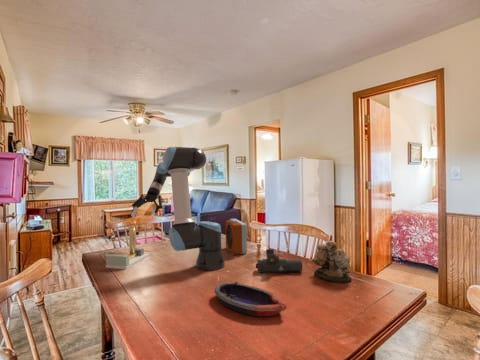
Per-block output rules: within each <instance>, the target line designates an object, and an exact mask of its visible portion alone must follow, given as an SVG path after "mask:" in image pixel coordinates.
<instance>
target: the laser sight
mask: <svg viewBox="0 0 480 360" xmlns="http://www.w3.org/2000/svg"><path fill="white" fill-rule="evenodd" d="M265 252H266V258H262V259H257V262H256V263H255V269H257V273H263V274H268V273H269V274H270V273H271V274H273V273H274V274H277V273H278V274H279V273H280V274H281V273H283V274H285V273H288V272H303V261H302V260H301V259H286V258H280V256H279V255H276V254H275V253H274V252H275V250H274V249H272V248H271V249H267V248H266V250H265Z"/></svg>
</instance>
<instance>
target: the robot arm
mask: <svg viewBox="0 0 480 360" xmlns="http://www.w3.org/2000/svg"><path fill="white" fill-rule="evenodd" d="M206 163H207V156H206V154H205V152H204V151H203V150H201V149H200V148H197V147H185V146H184V147H183V146H169V147H167V148H166V150H165V152H164V155H163V161H162V162H161V161H160V162H159V163H158V164H157V167H156V170H155V173H154V177H153V180H152V182H151V184H150V186H149V187H148V190H147V192H146V195H144V194H141V196H140V197H139V198H138V199H136V201H134V202H133V203H132V204H131V206H132V208H133V209H132V210H131V211H132V212H131V214H130V216H131V218H135V216H136V214H137V212H138V210H139V208H140V207H141V206H144V205H145V204H147V203H154V205H155V206H154V207H153V210H152V212H151V214H150V216H151V218H152V219H154V218H155V216H156V214H158V213H159V210H161V209H163V201H162V195H161V193H160V192H161V191H162V189H163V187H164V184H165V183H166V180H167V177H168V178H169V177H170V179H171V188H172V190H171V191H172V202H173V213H174V215H173V216H174V221H173V223H172V224H171V227H170V228H169V229H168V237H169V242H170V245H171V247H172V248H173V249H172V250H174V251H176V252H180V251H188V250H194V249H198V251H199V252H198V255H197V258H196V261H195V268H196V269H198V270H202V271H214V270H215V271H216V270H219V269H222V268H224V267H225V265H226V264H225V263H226V260H225V258H224V255H223V252H222V227H221V224H220V223H218V222H213V221H206V220H205V221H204V220H203V221H199V222H198V224H197V225H196V221H195V220H194V219H193V218H192V208H191V198H190V188H189V187H190V186H189V176H190V174H191V173H192V172H193V171H195V170H200V169H202V168H203V167H205V165H206ZM157 200H158V203H157Z"/></svg>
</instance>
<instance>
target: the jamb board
mask: <svg viewBox="0 0 480 360" xmlns="http://www.w3.org/2000/svg"><path fill="white" fill-rule="evenodd" d="M135 251H139V255H138V256H136V257H134V258H132V259H130V260H129V255H128V254H117V253H115V254H113V253H112V254H111V253H108V254H105V268H106V269H117V270H118V269H119V270H121V269H122V270H127V269H128V270H129V268H132V267H133V266H135V265H136V264H138V263H140V262H142V261H144V260H145V259H147V258H149V257H150V253H145V249H144V248H141V247H139V248H138V247H135Z"/></svg>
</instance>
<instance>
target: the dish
mask: <svg viewBox="0 0 480 360" xmlns="http://www.w3.org/2000/svg"><path fill="white" fill-rule="evenodd" d="M214 294H215V297H216V298H217V299H218V301H219V302H220V303H221V304H223V305H224V306H225V307H227V308H229V309H231V310H233V311H236V312H238V313H242V314H245V315H248V316H252V317H273V316H275V315H278V314H280V313H281V312H284V311H285V310H286V309H287V304H285V303H284V302H283V300H282V299H281V298H280V297H279V296H278V295H276V294H274V293H273V292H270V291H268V290H267V289H264V288H260V287H257V286H252V285H249V284H245V283H244V284H243V283H241V282H240V283H239V282H238V281H234V282H224V283H220V284H217V285H216V286H215V287H214Z"/></svg>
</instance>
